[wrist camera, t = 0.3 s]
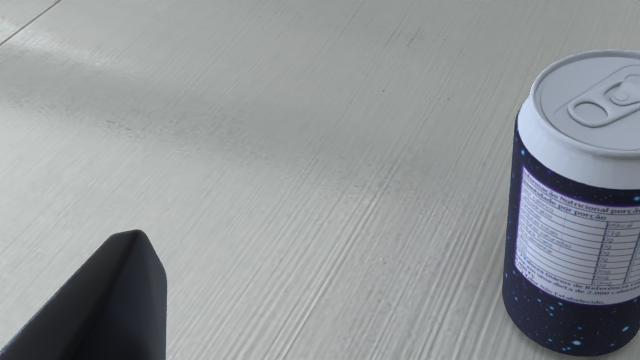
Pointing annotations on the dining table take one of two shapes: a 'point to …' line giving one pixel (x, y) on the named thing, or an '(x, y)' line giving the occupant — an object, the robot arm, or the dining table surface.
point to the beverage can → (577, 206)
